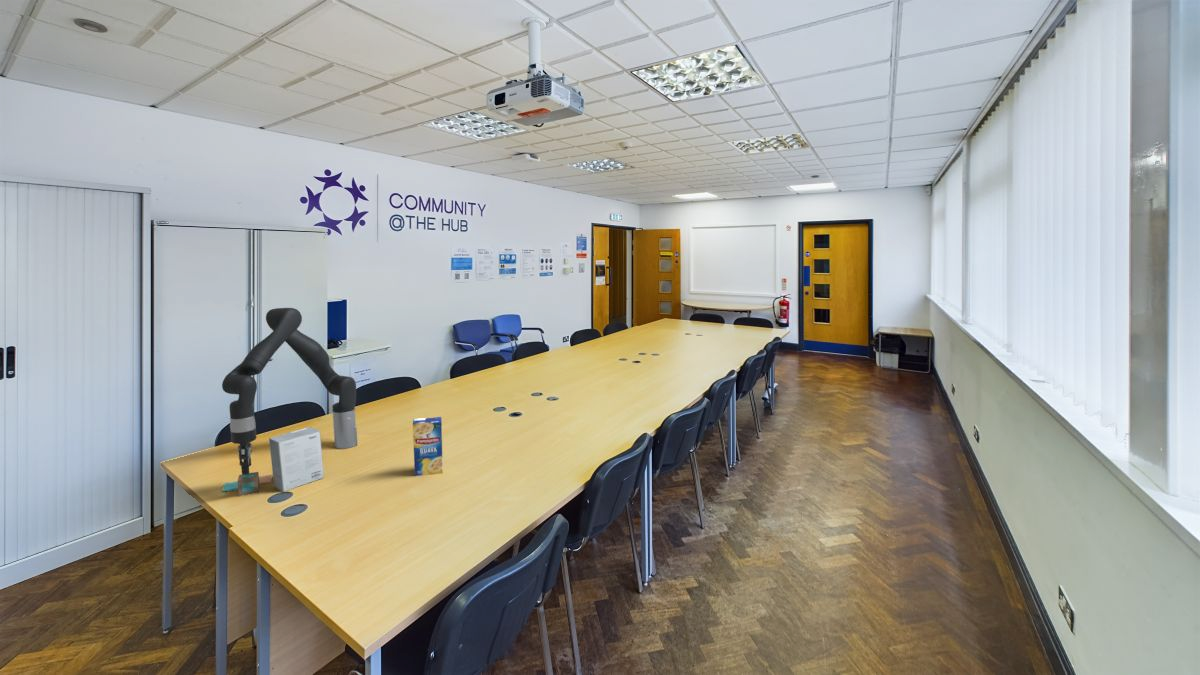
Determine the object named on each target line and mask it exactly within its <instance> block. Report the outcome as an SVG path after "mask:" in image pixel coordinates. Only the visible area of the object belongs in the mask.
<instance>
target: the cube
mask: <svg viewBox="0 0 1200 675" xmlns="http://www.w3.org/2000/svg"><path fill="white" fill-rule="evenodd" d="M259 477H260V475H259V471H255V472H254V471H253V472H249V474H247V475H242V474H239V475H238V478H237V481H238V490H237V492H238V497H243V496H242V495H244V496H249V495H254V494H258V493H260V488H261V486H260V484H259ZM253 493H254V494H253ZM248 494H249V495H248Z"/></svg>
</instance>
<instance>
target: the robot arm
mask: <svg viewBox="0 0 1200 675" xmlns="http://www.w3.org/2000/svg"><path fill="white" fill-rule="evenodd" d="M302 319H303V316H302V314H301V312H300V311H299V309H297V308H294V307H277V308H272V309H269V310H268V311H267V313H266V314H265V322H266V323H267V324H266V325H268V327H269V328H270V330H272V332H270V334H269V335H268V336H266V337H265V338H264V339H262V340H261V341H259V342H258V343H256V345H255V346H253V347H252V349H250V350H249V352H248V353H247V355H246V356H245V357H244V358H243V361H241V363H240V364H238V365H237V366H236V367H235V368H233V369H232V370H230V372H228V373H227V374H226V375H225V377H224V379H223V380H222V383H221V388H222V390H223V392H225V393H226V394H229V395H238V398H237V400H233V401H231V402H230V404H229V417H230V419H229V420H230V421H229V428H230V441H231V443H232V444H234V445H235V444H237V445H238V447H237V453H238V460H239V464H238V465H239V466H240V469H241V475H247V474H249V473H250V467H252V460H251V459H252V458H251V456H252V452H253V450H252V448H253V447H252V446H253V444H252V442H254V441H256V439H257V428H256V426H257V424H256V419H255V413H254V412H255V411H254V402H255V398H256V394H257V389H258V385H257V381H256V379H255V378H254V377H253V376H255V375H259V374H261V373H262V372H263V370H264V369H265V367H266V366H267V365H268V363H269V361H270V360H271V359H272V357H273V356H274V354H276V352H277V351H278V350H279V348H280V347H281V346H282V345H283V344H284V343H286V344H287V345H288V346H289V347H290V349H292V350H293V352H295V353H296V355H297V356H298V357H299V358H300V359H301V361H302V362H303V363H304V364H305V365H306V366H307V367H308V368H309V370H311V371H312V372H313V373H314V374H315V375H316V377H317V378H318V379H319V381H320V382H321V383H322V384H323V386H324V388H325V389H326V391H328V394H331V395H333V396H338V402H335V403H333V405H332V407H331V409H332V420H333V437H334V448H336V449H342V450H343V449H350V448H353V447H355V446H356V447H357V446H358V429H357V422H356V403H357V384H356V380H355V379H354V378H353V377H351V376H348V375H347V376H346V375H341V374H338V373H337V372H336V371H335V370H334V369H333V368H332V367H331V363H330V357H329V354H328V352H327V351H326V350H325V349H324V347H323V346H322V345H321V344H320V343H319V342H318V341H316V340H315V339H313V338H311V337H309V336H308V335H306V334H304V333H303V332H301V331H300V330H298V328H299V327H301V324H302V321H303V320H302Z"/></svg>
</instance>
